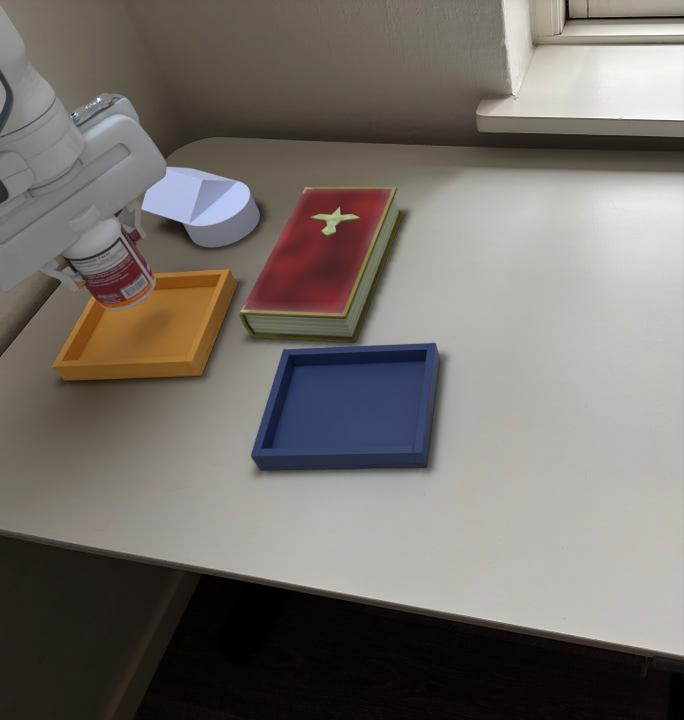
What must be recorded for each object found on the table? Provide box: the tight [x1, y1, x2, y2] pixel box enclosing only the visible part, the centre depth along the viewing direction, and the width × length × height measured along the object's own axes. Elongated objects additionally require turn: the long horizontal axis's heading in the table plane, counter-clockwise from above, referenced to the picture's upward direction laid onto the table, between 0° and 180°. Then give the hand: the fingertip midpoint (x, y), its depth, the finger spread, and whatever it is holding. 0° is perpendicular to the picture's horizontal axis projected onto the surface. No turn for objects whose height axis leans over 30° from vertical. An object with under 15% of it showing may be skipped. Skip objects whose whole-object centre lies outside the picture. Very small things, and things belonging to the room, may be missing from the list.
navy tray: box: [250, 342, 441, 471], centre depth 68 cm, size 16×13×2 cm
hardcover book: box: [239, 186, 404, 343], centre depth 81 cm, size 12×21×4 cm, turn 170°
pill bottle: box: [60, 204, 156, 311], centre depth 71 cm, size 6×6×11 cm
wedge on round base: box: [141, 166, 261, 248], centre depth 89 cm, size 9×7×13 cm
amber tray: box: [51, 268, 238, 382], centre depth 79 cm, size 16×14×2 cm
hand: (107, 263), depth 72 cm, fingers closed on pill bottle, 6 cm apart
